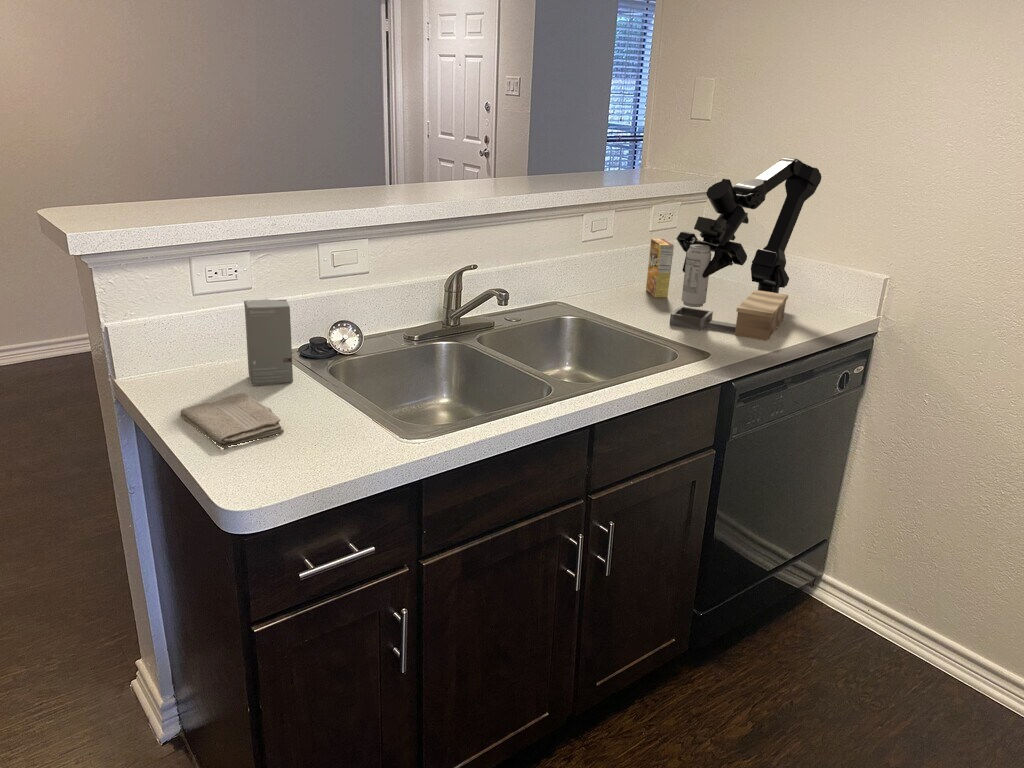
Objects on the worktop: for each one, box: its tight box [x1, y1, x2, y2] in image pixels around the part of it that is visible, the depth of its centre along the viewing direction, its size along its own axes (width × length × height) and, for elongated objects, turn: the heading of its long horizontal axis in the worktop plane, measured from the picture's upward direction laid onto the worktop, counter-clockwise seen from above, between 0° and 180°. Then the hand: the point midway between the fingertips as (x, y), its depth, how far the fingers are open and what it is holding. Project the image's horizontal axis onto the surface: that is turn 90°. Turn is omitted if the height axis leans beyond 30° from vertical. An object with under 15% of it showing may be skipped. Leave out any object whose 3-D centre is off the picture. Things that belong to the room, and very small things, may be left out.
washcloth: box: [179, 392, 285, 449], centre depth 139 cm, size 12×18×3 cm, turn 44°
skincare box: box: [243, 298, 294, 387], centre depth 157 cm, size 8×7×16 cm
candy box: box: [645, 238, 675, 299], centre depth 230 cm, size 9×4×15 cm, turn 9°
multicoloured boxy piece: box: [668, 289, 789, 341], centre depth 206 cm, size 22×25×7 cm
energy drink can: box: [681, 244, 712, 308], centre depth 201 cm, size 6×6×15 cm
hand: (693, 274), depth 200 cm, fingers closed on energy drink can, 6 cm apart
